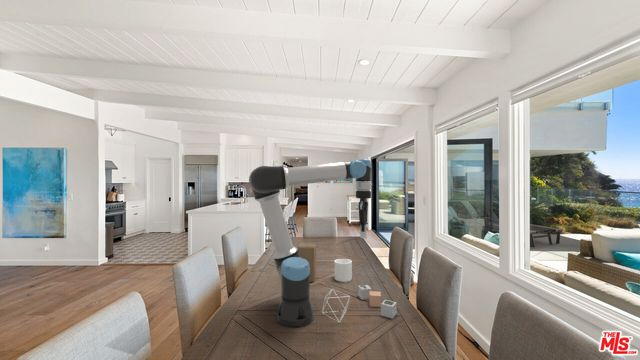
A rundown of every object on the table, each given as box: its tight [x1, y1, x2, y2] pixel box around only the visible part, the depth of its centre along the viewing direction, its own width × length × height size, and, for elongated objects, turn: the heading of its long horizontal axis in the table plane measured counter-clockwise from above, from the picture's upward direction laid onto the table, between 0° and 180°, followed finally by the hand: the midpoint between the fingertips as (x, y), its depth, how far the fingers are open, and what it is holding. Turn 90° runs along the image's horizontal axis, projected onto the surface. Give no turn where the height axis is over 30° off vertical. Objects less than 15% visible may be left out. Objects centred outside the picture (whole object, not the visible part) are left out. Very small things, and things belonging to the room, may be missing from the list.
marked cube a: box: [380, 299, 398, 320], centre depth 117 cm, size 5×5×5 cm
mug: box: [334, 258, 353, 283], centre depth 161 cm, size 13×10×10 cm
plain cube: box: [369, 290, 382, 308], centre depth 127 cm, size 5×5×5 cm
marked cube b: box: [357, 284, 372, 301], centre depth 135 cm, size 5×5×5 cm
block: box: [296, 242, 317, 283], centre depth 159 cm, size 10×10×20 cm
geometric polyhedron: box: [321, 288, 351, 323], centre depth 117 cm, size 12×11×9 cm
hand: (363, 237), depth 137 cm, fingers closed
